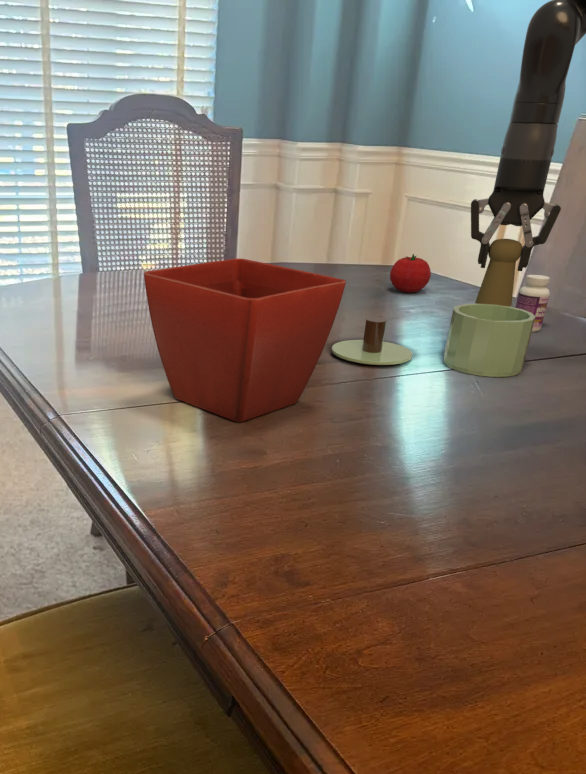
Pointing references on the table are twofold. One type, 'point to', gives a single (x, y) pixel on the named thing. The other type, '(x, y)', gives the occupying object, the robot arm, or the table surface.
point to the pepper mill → (500, 273)
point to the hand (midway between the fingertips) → (501, 268)
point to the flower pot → (240, 332)
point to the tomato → (410, 274)
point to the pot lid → (372, 347)
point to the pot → (488, 339)
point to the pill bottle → (534, 298)
